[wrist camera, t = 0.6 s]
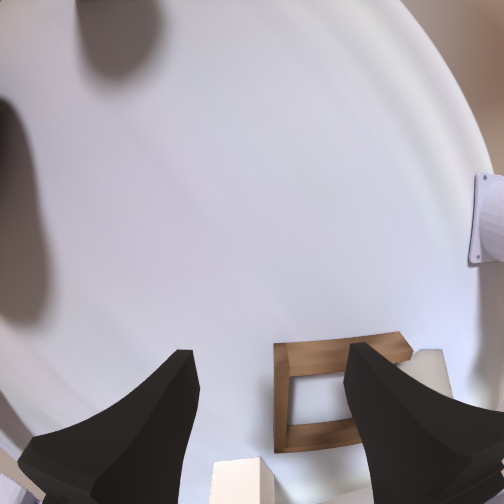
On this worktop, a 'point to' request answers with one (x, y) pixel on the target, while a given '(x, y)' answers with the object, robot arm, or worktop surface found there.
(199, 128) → the worktop surface
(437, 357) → the flask
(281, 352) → the box
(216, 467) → the milk
